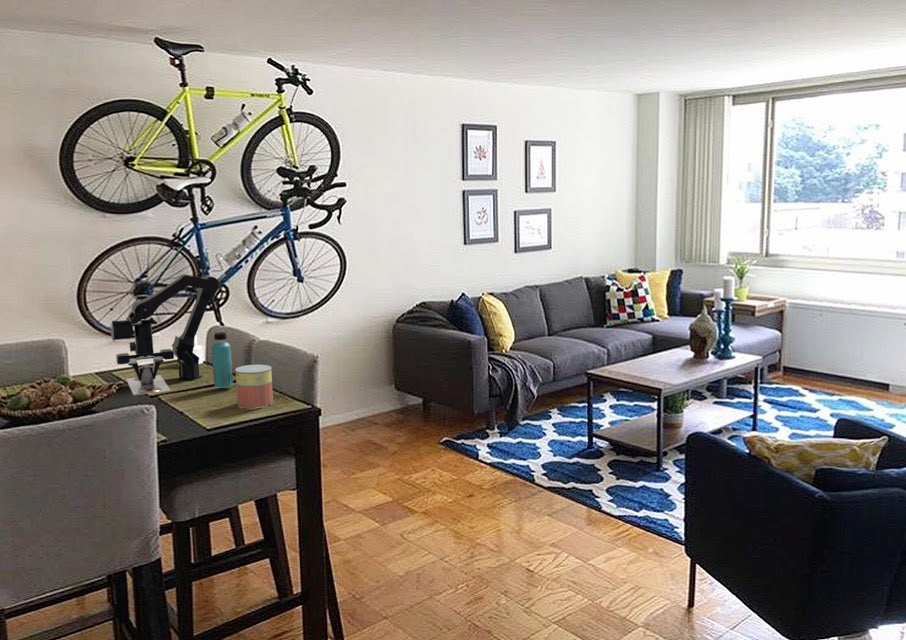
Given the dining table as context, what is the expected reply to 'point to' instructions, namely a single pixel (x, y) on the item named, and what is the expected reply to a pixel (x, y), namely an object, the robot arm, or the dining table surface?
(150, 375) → the locating pin
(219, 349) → the beverage bottle
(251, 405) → the canned food
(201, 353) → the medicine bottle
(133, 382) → the flange strip
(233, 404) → the dining table surface
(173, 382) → the dining table surface
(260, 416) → the dining table surface
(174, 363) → the dining table surface
